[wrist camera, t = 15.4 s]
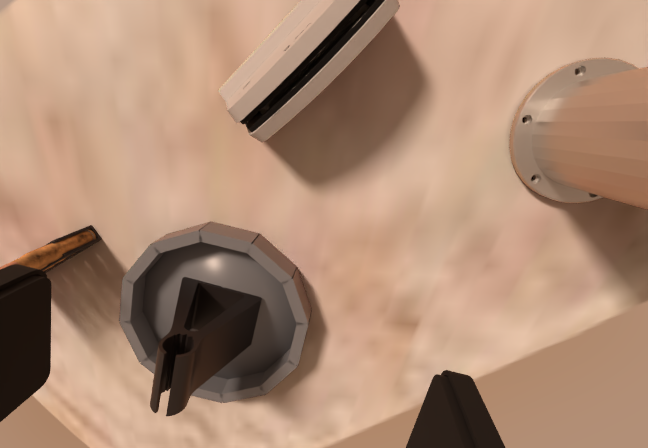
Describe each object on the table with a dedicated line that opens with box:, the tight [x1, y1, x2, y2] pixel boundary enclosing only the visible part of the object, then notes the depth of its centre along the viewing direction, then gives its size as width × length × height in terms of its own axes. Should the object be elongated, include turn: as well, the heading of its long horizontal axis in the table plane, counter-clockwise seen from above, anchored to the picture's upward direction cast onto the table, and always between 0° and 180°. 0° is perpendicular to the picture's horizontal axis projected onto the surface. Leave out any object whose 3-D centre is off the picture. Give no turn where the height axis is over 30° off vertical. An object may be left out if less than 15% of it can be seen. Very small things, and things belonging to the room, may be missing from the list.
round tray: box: [119, 222, 311, 403], centre depth 39 cm, size 20×20×3 cm
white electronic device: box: [218, 0, 400, 142], centre depth 29 cm, size 17×5×10 cm, turn 132°
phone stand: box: [150, 277, 262, 416], centre depth 34 cm, size 9×6×12 cm, turn 75°
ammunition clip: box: [0, 225, 101, 273], centre depth 34 cm, size 11×2×12 cm, turn 119°
